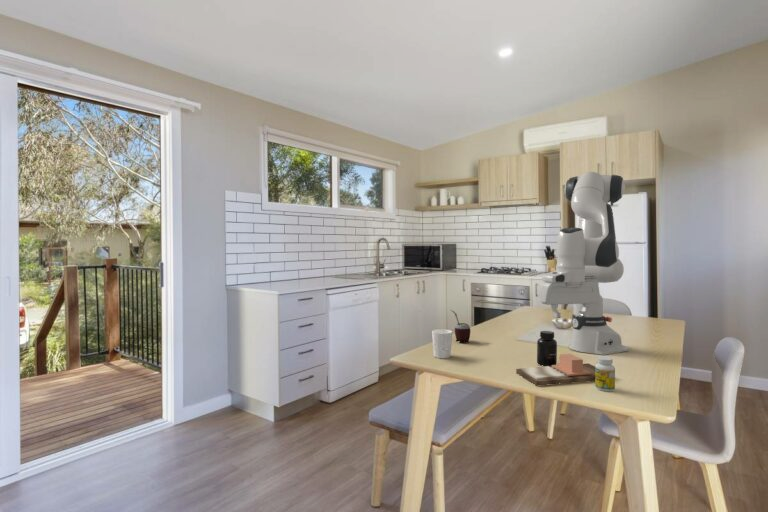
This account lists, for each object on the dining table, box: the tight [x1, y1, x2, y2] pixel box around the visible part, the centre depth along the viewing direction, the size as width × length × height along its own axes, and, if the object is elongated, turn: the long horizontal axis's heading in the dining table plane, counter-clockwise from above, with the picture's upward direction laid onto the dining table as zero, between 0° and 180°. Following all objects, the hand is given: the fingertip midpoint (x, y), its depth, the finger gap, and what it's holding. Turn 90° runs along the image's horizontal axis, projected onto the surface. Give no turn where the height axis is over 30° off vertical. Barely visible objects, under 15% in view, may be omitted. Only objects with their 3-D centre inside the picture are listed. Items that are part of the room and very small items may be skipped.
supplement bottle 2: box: [594, 356, 616, 393], centre depth 130 cm, size 5×5×10 cm
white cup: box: [431, 328, 453, 359], centre depth 168 cm, size 8×8×10 cm
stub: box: [552, 353, 591, 376], centre depth 143 cm, size 8×10×5 cm
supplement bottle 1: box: [536, 330, 558, 367], centre depth 156 cm, size 7×7×12 cm
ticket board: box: [515, 363, 596, 387], centre depth 143 cm, size 28×13×2 cm, turn 101°
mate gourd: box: [450, 309, 471, 344], centre depth 190 cm, size 8×8×15 cm
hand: (569, 317), depth 142 cm, fingers open, 8 cm apart
